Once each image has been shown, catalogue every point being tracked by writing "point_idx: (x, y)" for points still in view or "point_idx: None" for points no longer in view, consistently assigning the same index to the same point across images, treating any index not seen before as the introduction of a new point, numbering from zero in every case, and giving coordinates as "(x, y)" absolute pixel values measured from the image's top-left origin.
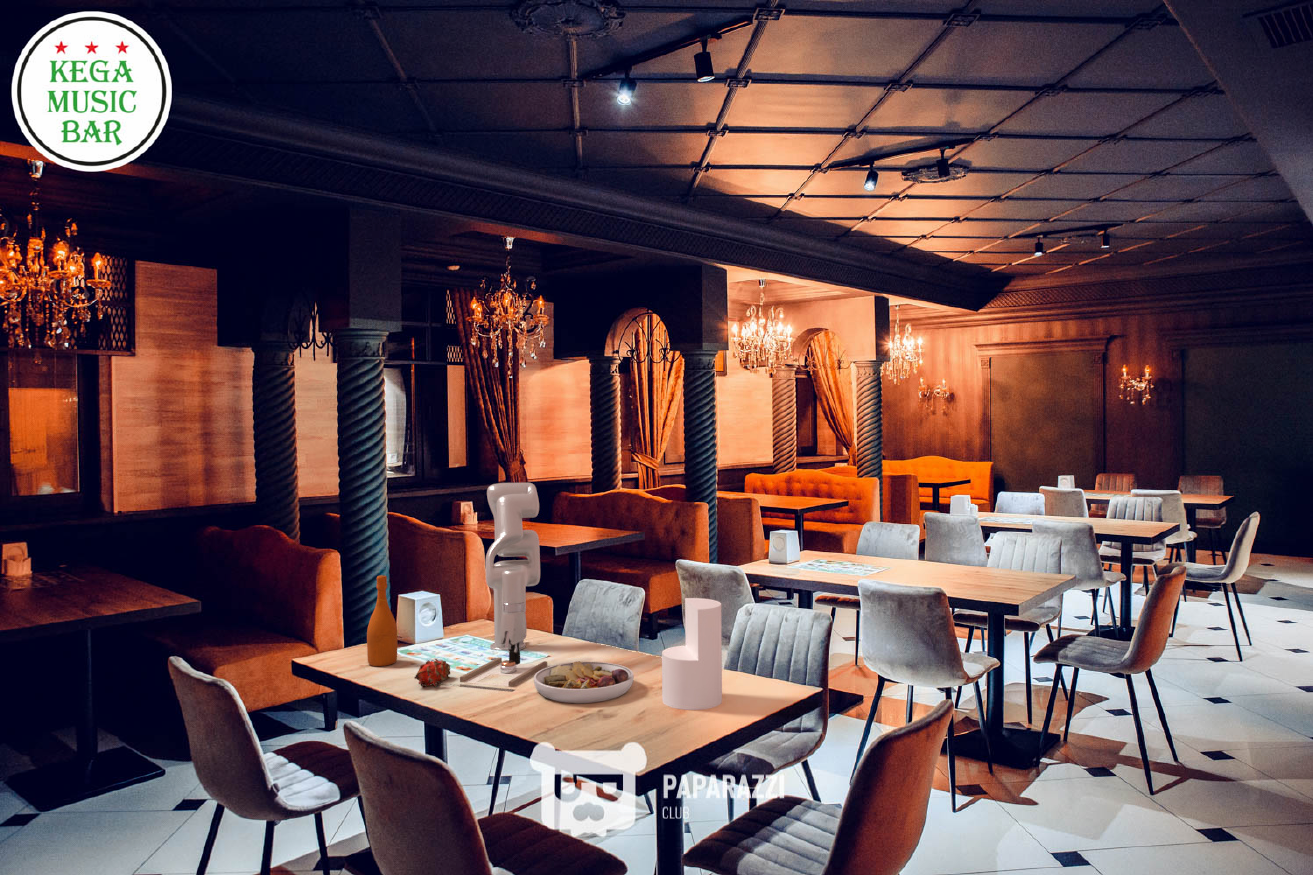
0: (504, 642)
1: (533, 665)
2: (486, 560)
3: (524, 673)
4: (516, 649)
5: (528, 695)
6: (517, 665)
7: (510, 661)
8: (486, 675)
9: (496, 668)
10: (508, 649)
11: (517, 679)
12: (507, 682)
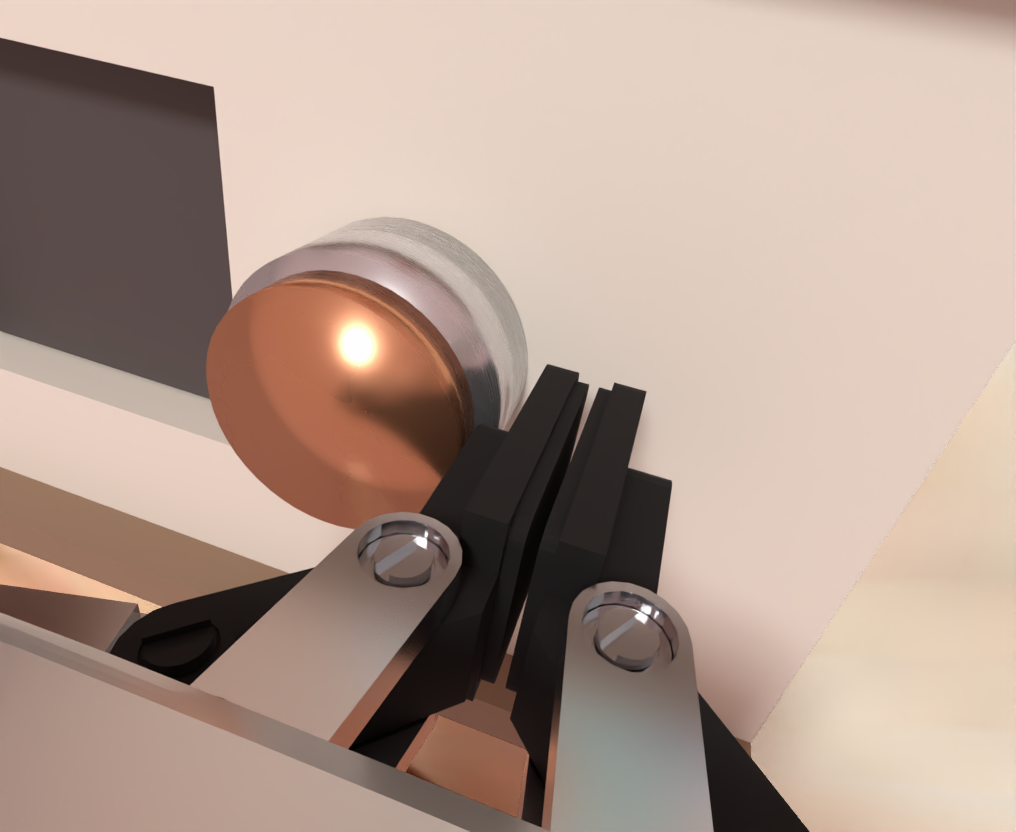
0: (59, 670)
1: (780, 640)
2: None
3: (180, 597)
4: (374, 736)
5: (17, 567)
6: (804, 423)
7: (394, 447)
8: (112, 22)
9: (571, 46)
10: (236, 591)
11: (15, 539)
12: (31, 417)
